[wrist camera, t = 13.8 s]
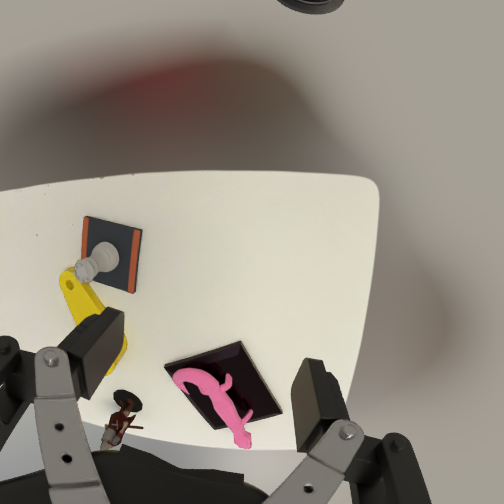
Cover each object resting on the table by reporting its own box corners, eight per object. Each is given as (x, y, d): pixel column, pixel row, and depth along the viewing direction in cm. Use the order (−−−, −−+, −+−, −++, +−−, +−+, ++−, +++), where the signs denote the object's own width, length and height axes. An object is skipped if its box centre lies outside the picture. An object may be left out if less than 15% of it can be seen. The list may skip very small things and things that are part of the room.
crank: (135, 351, 45) (123, 372, 39) (103, 359, 46) (89, 378, 40) (84, 260, 40) (64, 273, 34) (54, 276, 41) (34, 289, 35)
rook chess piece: (119, 272, 40) (93, 294, 32) (95, 264, 40) (67, 284, 32) (121, 245, 39) (94, 262, 31) (97, 237, 38) (67, 253, 31)
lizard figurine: (218, 430, 50) (214, 457, 43) (164, 363, 45) (152, 391, 38) (285, 414, 48) (287, 443, 41) (240, 339, 43) (237, 369, 36)
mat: (86, 215, 38) (83, 216, 37) (142, 229, 39) (140, 231, 38) (83, 274, 41) (80, 276, 40) (135, 291, 41) (133, 294, 41)
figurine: (128, 387, 48) (101, 441, 33) (150, 410, 49) (129, 465, 35) (107, 392, 49) (79, 442, 34) (128, 415, 50) (106, 465, 36)
